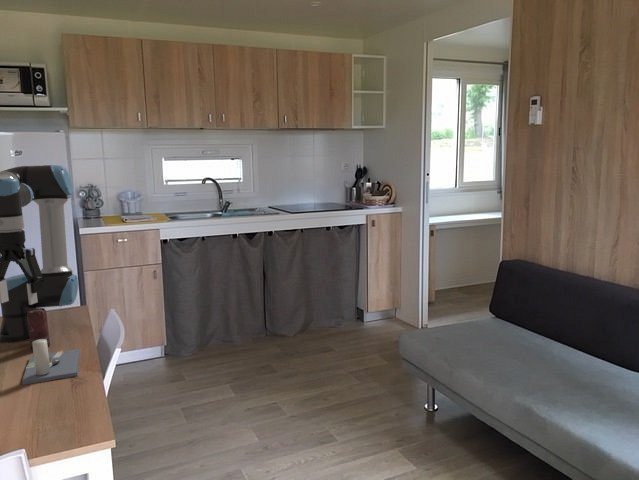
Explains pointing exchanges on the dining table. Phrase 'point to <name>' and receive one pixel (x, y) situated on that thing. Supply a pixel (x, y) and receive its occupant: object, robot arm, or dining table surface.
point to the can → (38, 325)
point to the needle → (43, 357)
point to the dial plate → (54, 368)
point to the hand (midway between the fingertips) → (18, 302)
